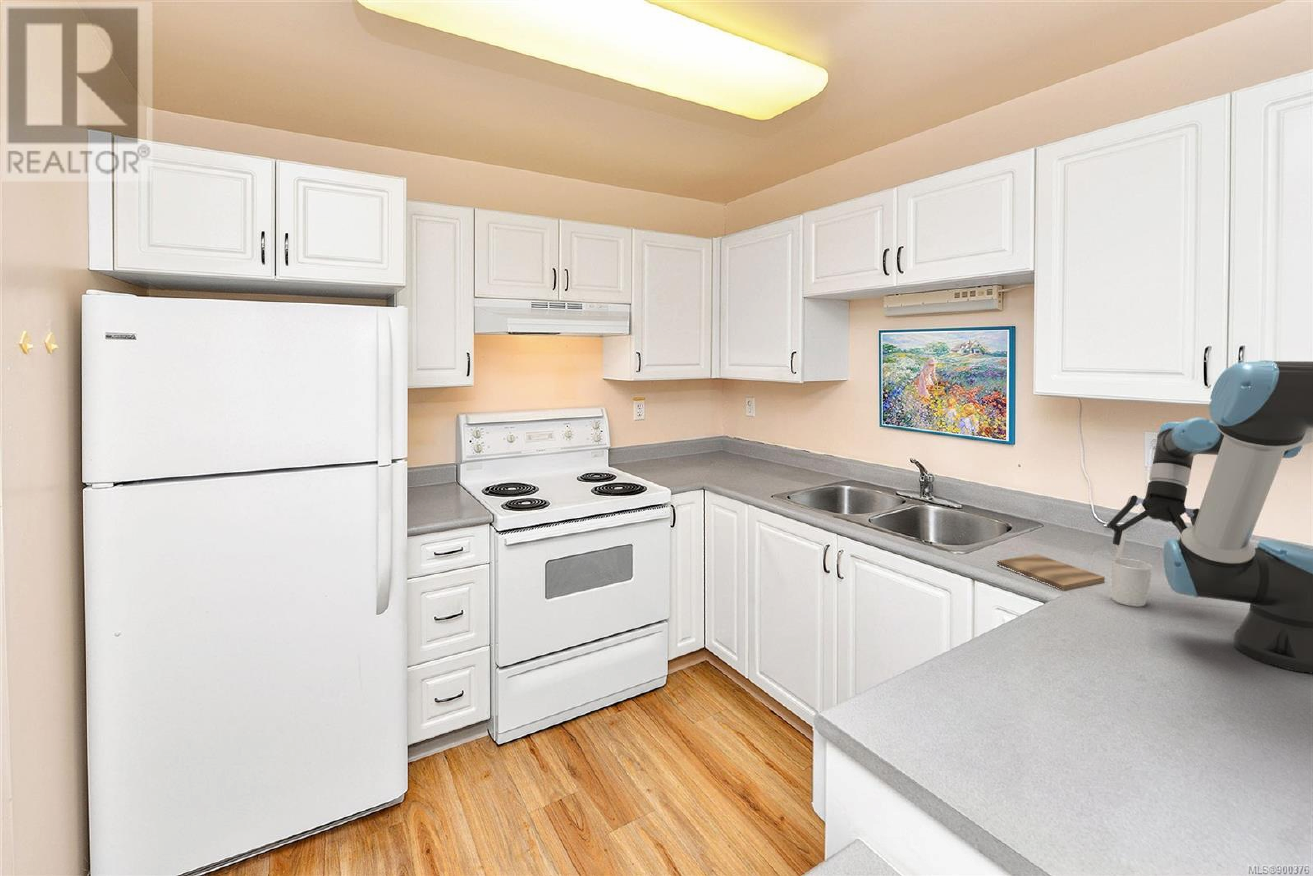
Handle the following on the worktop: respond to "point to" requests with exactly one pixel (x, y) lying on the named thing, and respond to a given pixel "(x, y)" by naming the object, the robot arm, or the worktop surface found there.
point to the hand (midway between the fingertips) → (1151, 567)
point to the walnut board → (1052, 571)
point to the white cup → (1130, 581)
